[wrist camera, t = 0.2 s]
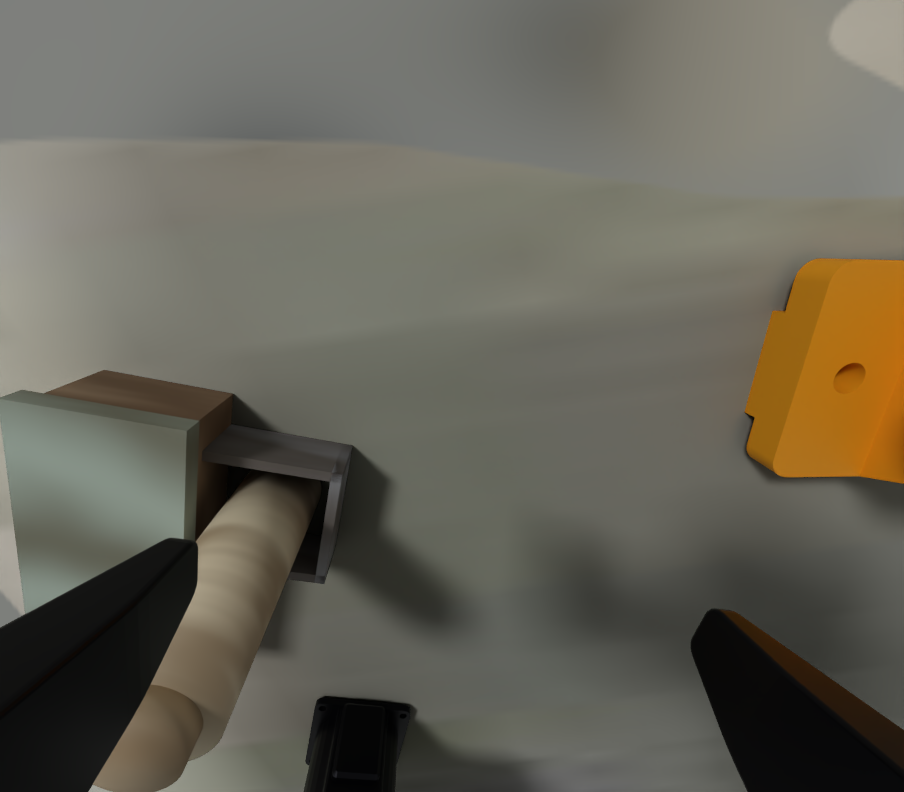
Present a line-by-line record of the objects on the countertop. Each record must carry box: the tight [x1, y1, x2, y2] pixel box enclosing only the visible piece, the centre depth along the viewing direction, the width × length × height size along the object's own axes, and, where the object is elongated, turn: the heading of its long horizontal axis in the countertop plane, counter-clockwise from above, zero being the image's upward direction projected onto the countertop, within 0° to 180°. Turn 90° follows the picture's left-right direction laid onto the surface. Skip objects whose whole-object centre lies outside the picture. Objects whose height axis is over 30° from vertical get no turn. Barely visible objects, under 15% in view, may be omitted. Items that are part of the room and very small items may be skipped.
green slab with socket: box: [0, 370, 353, 614], centre depth 21 cm, size 15×12×5 cm
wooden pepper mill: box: [93, 469, 322, 792], centre depth 17 cm, size 4×4×13 cm
